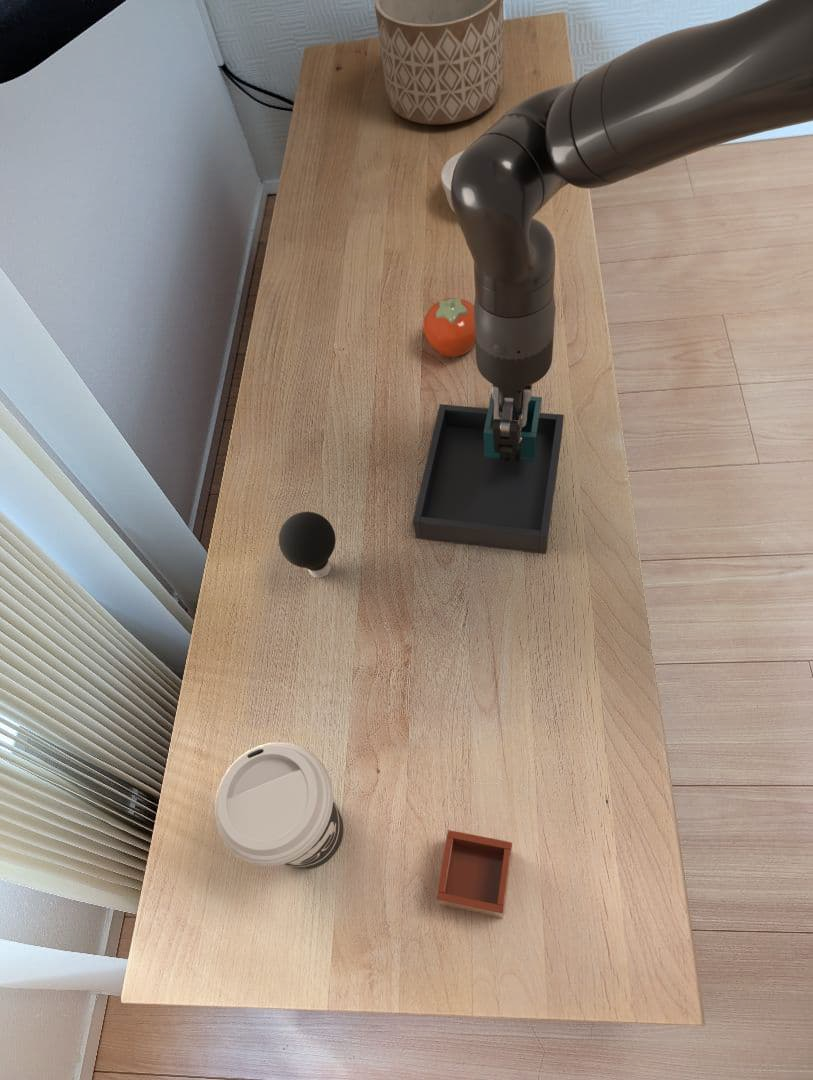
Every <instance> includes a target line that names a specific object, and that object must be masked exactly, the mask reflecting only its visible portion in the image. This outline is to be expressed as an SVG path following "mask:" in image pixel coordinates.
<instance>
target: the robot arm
mask: <svg viewBox="0 0 813 1080" xmlns="http://www.w3.org/2000/svg"><path fill="white" fill-rule="evenodd" d="M810 122H813V0H766V1H764V2H762V3H761V4H758V5H757V6H754V7H753V8H751V9H748V10H746V11H744V12H741V13H739V14H736V15H734V16H732V17H729V18H724V19H721V20H716V21H713V22H709V23H708V22H707V23H704V24H699V25H694V26H691V27H685V28H682V29H678V30H675V31H672V32H669V33H666V34H663V35H660V36H657V37H655V38H653V39H651V40H648V41H646V42H643V43H642V44H639V45H637V46H635V47H633V48H631V49H630V50H628V51H626V52H624V53H622V54H621V55H619V56H618V55H617V57H615V58H613V59H611V60H609V61H608V62H606V63H604V64H602V65H601V66H598V67H596V68H595V69H593V70H591V71H589V72H587V73H586V74H584V75H583V76H581V77H579V78H578V79H576V80H575V81H573V82H571V83H565V84H562V85H559V86H555V87H552V88H549V89H546V90H543V91H540V92H538V93H536V94H533V95H531V96H529V97H527V98H526V99H524V100H523V101H521V102H519V103H517V104H516V105H514V106H513V107H511V108H510V109H509V110H507V111H506V112H505V113H504V114H503V115H502V116H501V117H500V118H498V119H497V120H496V121H495V122H494V123H493V124H492V125H491V126H490V127H489V128H488V129H487V130H486V131H484V132H483V133H481V135H480V136H478V138H477V139H476V140H474V141H473V142H472V143H471V144H470V145H469V146H468V147H467V148H466V149H464V150H463V151H464V152H463V154H462V155H461V156H460V158H459V159H458V161H457V163H456V166H455V169H454V172H453V177H452V182H451V201H452V206H453V209H454V212H455V213H454V212H453V213H454V214H455V217H456V219H457V222H458V224H459V227H460V229H461V232H462V234H463V237H464V240H465V243H466V245H467V247H468V250H469V253H470V255H471V258H472V260H473V274H474V275H473V277H474V303H473V305H474V331H475V345H474V347H475V348H474V349H475V361H476V362H475V363H476V367H477V370H478V371H479V373H480V375H481V377H483V378H484V379H485V380H486V381H488V382H489V383H490V384H492V390H491V393H492V398H493V400H494V419H493V422H492V427H493V440H494V450H495V453H499V454H500V460H501V461H503V462H512V463H515V462H519V460H520V443H521V442H522V437H521V432H522V427H524V426H525V425H526V422H527V415H528V402H529V401H530V399H531V396H532V394H533V385H534V384H535V383H537V382H539V381H541V379H543V378H544V377H545V376H546V375H547V373H548V372H549V370H550V368H551V367H552V362H553V354H554V353H553V352H554V339H555V337H554V336H555V321H556V319H555V318H556V301H555V300H556V299H555V290H554V288H555V273H556V245H555V240H554V237H553V234H552V233H551V231H550V229H549V228H548V227H547V226H546V225H545V224H544V223H543V222H541V221H540V220H537V219H536V218H534V217H535V216H536V215H537V213H538V212H539V211H540V210H541V209H542V208H543V207H544V206H545V205H546V204H547V203H549V201H550V200H551V199H552V198H553V197H554V196H555V195H556V194H557V193H558V192H559V191H561V189H563V188H564V187H566V186H567V185H569V184H570V185H571V186H574V187H576V188H579V189H587V190H588V189H589V190H590V189H598V188H603V187H606V186H610V185H612V184H616V183H618V182H620V181H624V180H627V179H629V178H632V177H634V176H637V175H640V174H643V173H645V172H648V171H650V170H653V169H655V168H659V167H661V166H663V165H665V164H668V163H671V162H673V161H674V162H675V161H677V160H678V159H682V158H684V157H687V156H690V155H692V154H695V153H697V152H701V151H704V150H706V149H709V148H713V147H715V146H719V145H722V144H725V143H728V142H731V141H735V140H738V139H743V138H747V137H750V136H754V135H757V134H761V133H766V132H769V131H774V130H777V129H778V130H779V129H784V128H787V127H792V126H797V125H801V124H805V123H810ZM500 408H501V409H502V410H503V412H501V411H500ZM521 409H522V414H520V415H514V414H512V413H513V412H519V411H520V410H521Z"/></svg>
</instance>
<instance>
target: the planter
mask: <svg viewBox="0 0 813 1080" xmlns="http://www.w3.org/2000/svg"><path fill="white" fill-rule="evenodd" d="M373 3H374V10H375V11H374V12H375V17H376V24H377V25H376V26H377V33H378V39H379V46H380V54H381V63H382V70H383V77H384V84H385V85H384V86H385V93H386V99H387V102H388V104H389V106H390V108H391V109H392V110H393V112H395V113H396V114H397V115H398V116H399V117H402V118H403V119H405V120H408V121H410V122H414V123H418V124H423V125H434V126H435V125H436V126H437V125H450V124H455V123H460V122H464V121H467V120H470V119H473V118H474V117H475V118H476V117H478V116H479V115H481V114H482V113H484V112H486V111H487V110H489V109H490V108H491V107H493V105H495V103H496V102H497V101H498V100H499V99H500V97H501V95H502V94H503V90H504V86H505V85H504V84H505V83H504V82H505V81H504V80H505V73H504V72H505V71H504V69H505V67H504V57H505V56H504V53H505V52H504V48H505V47H504V46H505V45H504V0H373Z"/></svg>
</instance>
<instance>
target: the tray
mask: <svg viewBox="0 0 813 1080" xmlns="http://www.w3.org/2000/svg"><path fill="white" fill-rule="evenodd" d="M488 408H489V407H477V406H476V407H475V406H464V405H455V404H454V405H453V404H442V403H439V405H438V410H437V413H436V414H437V415H436V419H435V423H434V427H433V432H432V435H431V441H430V444H429V445H430V446H429V448H428V454H427V458H426V461H425V467H424V469H423V473H422V474H423V475H422V480H421V483H420V486H419V487H420V488H419V491H418V497H417V499H416V503H415V504H416V505H415V509H414V513H413V519H412V525H413V531H414V535H415V538H416V539H420V540H428V541H437V542H444V543H445V542H446V543H455V544H462V545H470V546H476V547H477V546H479V547H487V548H494V549H505V550H510V551H511V550H512V551H520V552H528V553H535V554H536V553H537V554H543V555H545V554H547V550H548V544H549V543H548V542H549V535H550V527H551V520H552V512H553V506H554V505H553V504H554V499H555V498H554V497H555V490H556V483H557V475H558V467H559V460H560V453H561V446H562V445H561V444H562V438H563V429H564V420H565V419H564V418H565V414H562V413H561V414H560V413H548V412H541V423H540V430H539V436H538V443H537V450H536V456H535V462H531V461H521V460H519V462H515V463H512V462H503V461H501V460H500V458H489V457H485V448H484V429H485V423H486V418H487V413H488Z"/></svg>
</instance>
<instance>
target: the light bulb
mask: <svg viewBox="0 0 813 1080" xmlns="http://www.w3.org/2000/svg"><path fill="white" fill-rule="evenodd" d="M278 534H279V535H278V546H279V550H280V552H281V555H283V557H284V558H285V559H286V561H288V562H289V563H290V564H292V565H294V566H296V567H299V568H303V569H305V568H306V569H307V571H308V573H309V575H311V576H312V577H313V578H317V579H319V578H323V577H325V576H327V575H328V574H329V573H330V570H331V563H330V560H329V559H330V557H331V556H332V554H333V553H334V550H335V548H336V541H337V540H336V532H335V530H334V528H333V525H332V523H331V522H330V521H329V520H328V519H327V518H326V517H324V516H323V515H321V514H319V513H317V512H313V511H302V512H297V513H295V514H292V515H291V516H289V518H287V519H286V520H285V521H284V523H283V525H282V526H281V528H280V531H279V533H278Z"/></svg>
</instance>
